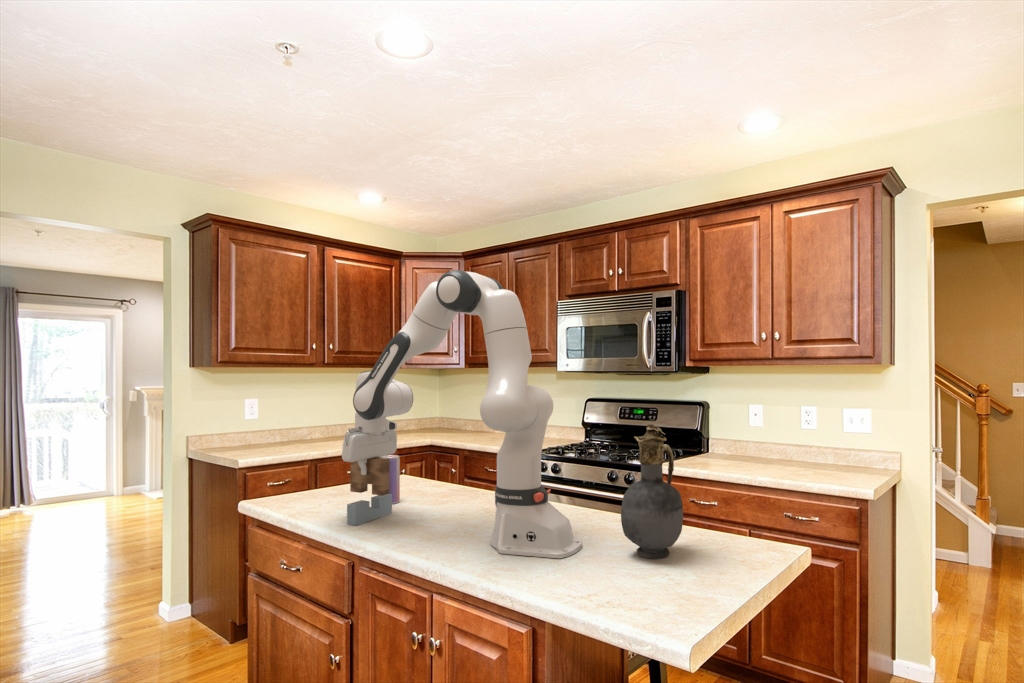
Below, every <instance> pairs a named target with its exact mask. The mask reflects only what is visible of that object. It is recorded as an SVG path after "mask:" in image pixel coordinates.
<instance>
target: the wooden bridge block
mask: <svg viewBox="0 0 1024 683" xmlns="http://www.w3.org/2000/svg"><path fill="white" fill-rule="evenodd" d="M365 464H366V466H367V468H369V474H367V475H362V474H361V468H360V466H359V464H358V461H355V462H350V478H349V479H350V480H349V481H350V482H349V483H350V492H351V493H358V494H359V493H360V494H362V493H364V492H368V488H369V487H368V486H369V485H371V495H374V496H377V495H381V496H383V495H387V494H389V470H390V459H386V458H370V459H367V463H365Z"/></svg>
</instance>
